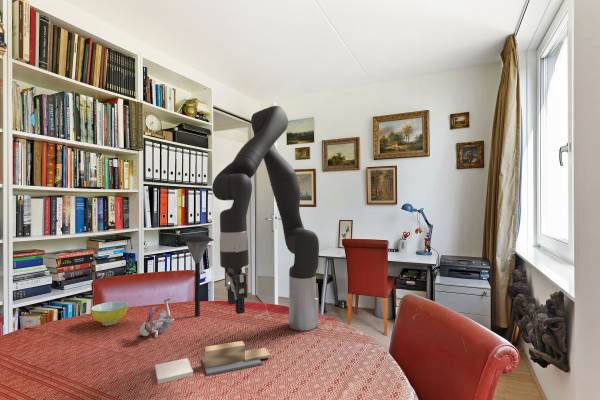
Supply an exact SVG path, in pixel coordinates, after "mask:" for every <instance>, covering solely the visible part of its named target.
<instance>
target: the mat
mask: <svg viewBox="0 0 600 400" xmlns="http://www.w3.org/2000/svg"><path fill="white" fill-rule="evenodd" d="M248 350H254V348H249V349H245V351H248ZM261 360H262V359H258V360H253V361H247V362H245V361H244V360H243V361H238V362H232V363H227V364H222V365H216V366H211V367H206V365H205V356H204V357H201V362H202V364H203V368H204V370H205V371H204V372H205V373H206V376H208V377H209V376H212V375H217V374H218V375H219V374H224V373H227V372H233V371H237V370H241V369H242V370H243V369H247V368H253V367H258V366H262V365H263V362H262V361H261Z"/></svg>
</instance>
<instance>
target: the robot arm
mask: <svg viewBox="0 0 600 400" xmlns="http://www.w3.org/2000/svg"><path fill="white" fill-rule="evenodd" d="M250 123H251V128H252V131H253V132H252V133H253V134H254V136H252V137H251V138H250V139H249V140H248V141H246V143H244V145H243V146H242V147H241V148H240V150H239V151H238V152H237V154H236V156H235V157H234V159H233V161H232V162H230V163H229V164H227V165H226V166H225V167H224V168H223V169H222V170H221V171H220V172H218V174H217V175H216V176H215V178H214V179H213V181H212V182H213V183H212V185H211V186H212V187H211V189H212V194H213V196H214V197H215V198H216V199H217V200H220V201H233V202H232V205H231V207H230V208H227V209H224V210H222V211H220V215H219V231H220V232H219V233H220V234H219V263H220V267H221V268H223V269H224V287H225V288H226V291H227V304H228V305H229V306H231V305H235V308H234V309H235V313H236V315H239V314H244V313H245V311H246V310H245V309H246V308H245V299H248V287H247V286H248V284H247V282H248V281H247V274H246V273H244V272H243V267H247V266H248V265H249V264H250V263H249V262H250V261H249V260H250V259H249V237H248V231H247V227H248V226H247V216H248V215H247V214H248V210H249V206H250V201H251V197H252V193H253V192H252V191H253V183H252V181H251V178H253V176H254V175H256V173H257V172H256V171H257V170H258V169H259V167H260V165H261V164H262V161H263V162H264V164H265V169H266V171H267V172H266V173H267V175H268V179H269V183H270V186H271V189H272V193H273V197H274V199H275V203H276V206H277V210H278V214H279V217H280V220H281V224H282V225H281V226H282V229H283V236H284V237H283V238H284V241H285V245H286V246H285V247H287V249H288V250H289V252H290V253H291V254H293V255H294V258H293V259H294V261H293V265H291V266H290V267H289V270H288V277H289V278H288V283H289V284H288V285H289V286H288V291H289V292H288V310H289V311H288V314H289V315H288V327H289V328H291V329H292V330H295V331H311V330H313V329H315V328H317V327H319V298H318V297H317V270H318V267H319V259H320V258H319V256H320V255H319V254H320V240H319V237H318V235H317V234H316V233H315V232H314V231H313V230H310V229H305V227H304V224H303V221H302V217H301V213H300V203H301V189H300V184H299V183H300V182H299V179H298V176H297V173H296V171H295V169H294V168H293V166H292V165H291V164H290V163H289V162H288V161H287V160H286V159H285V158H284V156H282V155H281V154H280V152H279V151H278V150H277V148H276V146H275V143H276V142H277V141H278V139H279V138H280V137H281V136H282V135H283V134H285V132H286V130H287V128H288V124H289V118H288V115H287V113H286V111H285V109H283V107H281V106H279V105H272V106H269V107H266V108H264V109H261V110H258V111H255V112H254V113H253V114H252V115H251V120H250Z"/></svg>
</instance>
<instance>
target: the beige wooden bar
mask: <svg viewBox="0 0 600 400" xmlns="http://www.w3.org/2000/svg"><path fill="white" fill-rule="evenodd" d="M245 350H246V344H245V342H244V341H243V340H240V341H233V342H225V343H220V344H214V345H208V346H204V357H205V365H206V367H211V366H216V365H222V364H227V363H232V362H238V361H243V360H244V361H245V362H247V361H253V360H258V359H260V360H262V359H267V358H271V353H270V352H269V351H268V349H267V348H266V347H260V348H255V349H254V348H253V350H248V349H247V350H248V351H245Z"/></svg>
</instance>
